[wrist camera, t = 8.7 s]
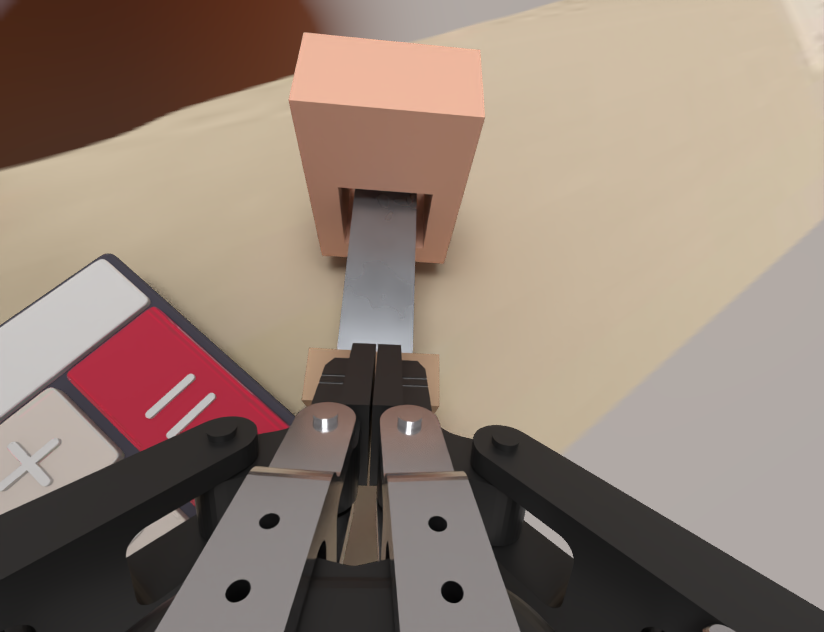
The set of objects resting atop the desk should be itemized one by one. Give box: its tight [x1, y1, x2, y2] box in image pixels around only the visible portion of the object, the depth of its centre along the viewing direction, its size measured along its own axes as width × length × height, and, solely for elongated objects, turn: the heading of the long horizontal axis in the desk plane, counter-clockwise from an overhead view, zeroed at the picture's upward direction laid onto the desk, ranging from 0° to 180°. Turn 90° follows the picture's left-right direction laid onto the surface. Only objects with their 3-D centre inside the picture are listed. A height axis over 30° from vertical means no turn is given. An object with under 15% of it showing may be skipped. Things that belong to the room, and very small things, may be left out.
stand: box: [302, 348, 439, 433], centre depth 22 cm, size 5×18×8 cm, turn 178°
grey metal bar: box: [337, 189, 417, 353], centre depth 20 cm, size 3×16×3 cm, turn 178°
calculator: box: [0, 254, 295, 557], centre depth 19 cm, size 11×4×15 cm
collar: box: [289, 33, 485, 263], centre depth 20 cm, size 7×4×10 cm, turn 88°
